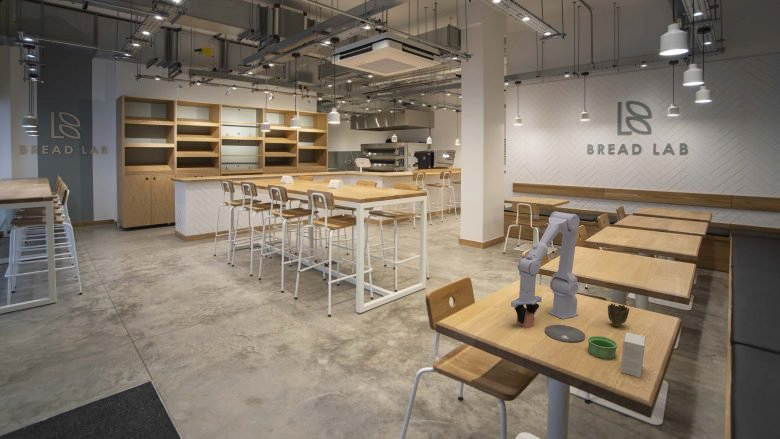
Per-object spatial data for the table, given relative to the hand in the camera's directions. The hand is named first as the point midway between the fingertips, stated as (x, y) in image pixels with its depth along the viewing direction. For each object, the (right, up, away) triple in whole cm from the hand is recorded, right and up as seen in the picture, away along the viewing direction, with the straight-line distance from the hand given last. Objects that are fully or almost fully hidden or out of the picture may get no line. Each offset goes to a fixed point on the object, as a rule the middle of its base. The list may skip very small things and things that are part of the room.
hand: (525, 321), depth 161 cm
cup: (+36, -2, 0) cm, 36 cm away
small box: (+23, -7, -33) cm, 41 cm away
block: (0, -2, 0) cm, 2 cm away
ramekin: (+19, -6, -22) cm, 30 cm away
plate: (+12, -3, -8) cm, 15 cm away
